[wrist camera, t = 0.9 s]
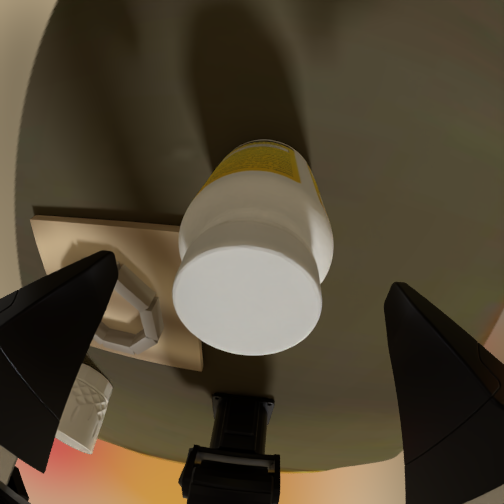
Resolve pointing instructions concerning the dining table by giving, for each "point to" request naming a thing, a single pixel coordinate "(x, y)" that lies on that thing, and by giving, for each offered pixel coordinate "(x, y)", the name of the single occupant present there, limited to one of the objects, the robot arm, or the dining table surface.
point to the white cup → (84, 410)
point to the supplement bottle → (254, 252)
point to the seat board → (142, 260)
